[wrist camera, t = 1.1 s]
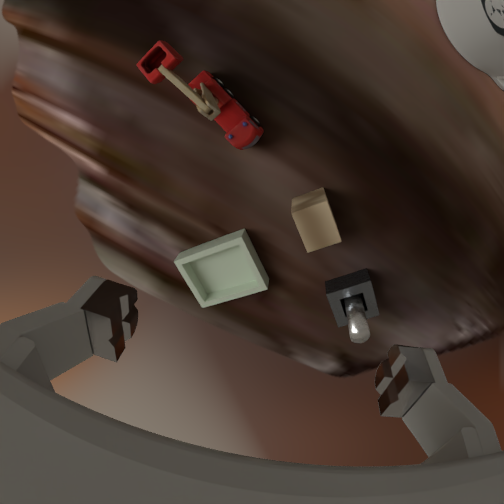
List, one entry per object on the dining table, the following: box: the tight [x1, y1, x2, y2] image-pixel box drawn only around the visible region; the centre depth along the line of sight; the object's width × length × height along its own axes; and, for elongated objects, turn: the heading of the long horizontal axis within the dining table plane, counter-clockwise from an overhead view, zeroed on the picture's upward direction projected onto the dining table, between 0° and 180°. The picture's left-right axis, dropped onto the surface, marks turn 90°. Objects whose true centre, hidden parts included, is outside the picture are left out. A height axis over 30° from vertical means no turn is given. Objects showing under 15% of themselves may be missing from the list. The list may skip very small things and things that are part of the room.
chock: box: [291, 188, 341, 253], centre depth 35 cm, size 4×5×5 cm
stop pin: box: [344, 293, 370, 343], centre depth 38 cm, size 2×2×9 cm
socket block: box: [325, 268, 379, 327], centre depth 41 cm, size 6×6×3 cm
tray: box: [174, 229, 269, 308], centre depth 42 cm, size 10×8×2 cm
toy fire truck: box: [137, 41, 264, 150], centre depth 28 cm, size 3×14×10 cm, turn 41°
